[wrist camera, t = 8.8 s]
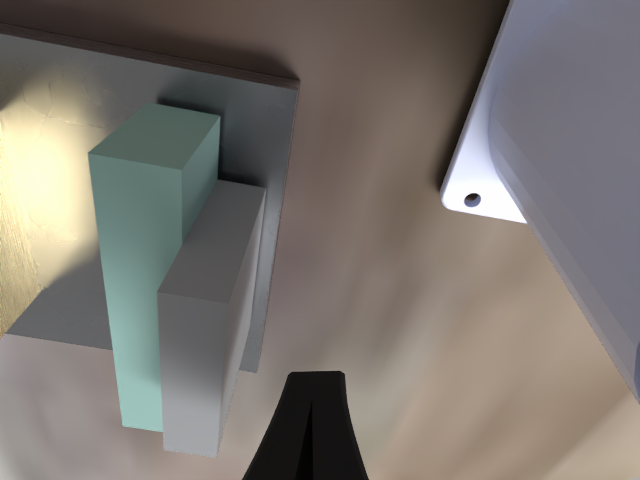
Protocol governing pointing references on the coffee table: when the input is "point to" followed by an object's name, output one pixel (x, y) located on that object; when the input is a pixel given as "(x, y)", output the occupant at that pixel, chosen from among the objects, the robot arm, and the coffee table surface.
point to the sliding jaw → (175, 272)
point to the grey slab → (93, 127)
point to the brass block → (13, 250)
